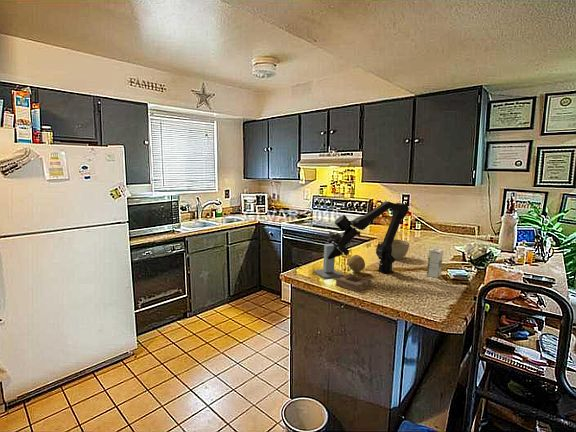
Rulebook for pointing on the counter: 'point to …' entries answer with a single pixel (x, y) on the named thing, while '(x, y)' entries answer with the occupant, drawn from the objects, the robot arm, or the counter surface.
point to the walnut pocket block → (353, 282)
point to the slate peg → (328, 263)
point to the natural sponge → (356, 263)
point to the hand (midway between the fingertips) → (326, 257)
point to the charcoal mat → (328, 274)
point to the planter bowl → (399, 248)
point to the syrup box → (434, 263)
